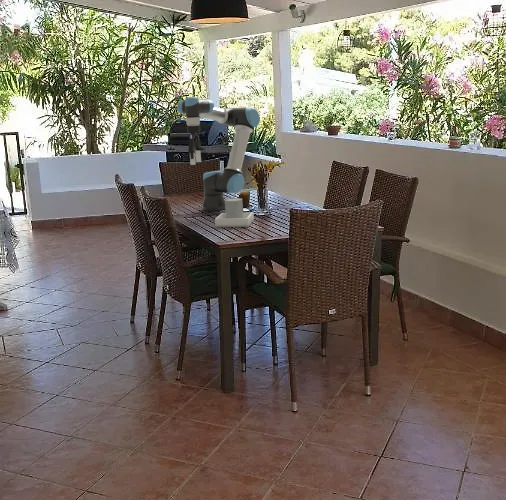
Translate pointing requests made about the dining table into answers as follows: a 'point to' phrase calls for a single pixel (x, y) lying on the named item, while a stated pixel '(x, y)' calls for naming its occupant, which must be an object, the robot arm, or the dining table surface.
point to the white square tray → (234, 220)
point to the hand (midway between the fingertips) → (195, 163)
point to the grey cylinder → (234, 208)
